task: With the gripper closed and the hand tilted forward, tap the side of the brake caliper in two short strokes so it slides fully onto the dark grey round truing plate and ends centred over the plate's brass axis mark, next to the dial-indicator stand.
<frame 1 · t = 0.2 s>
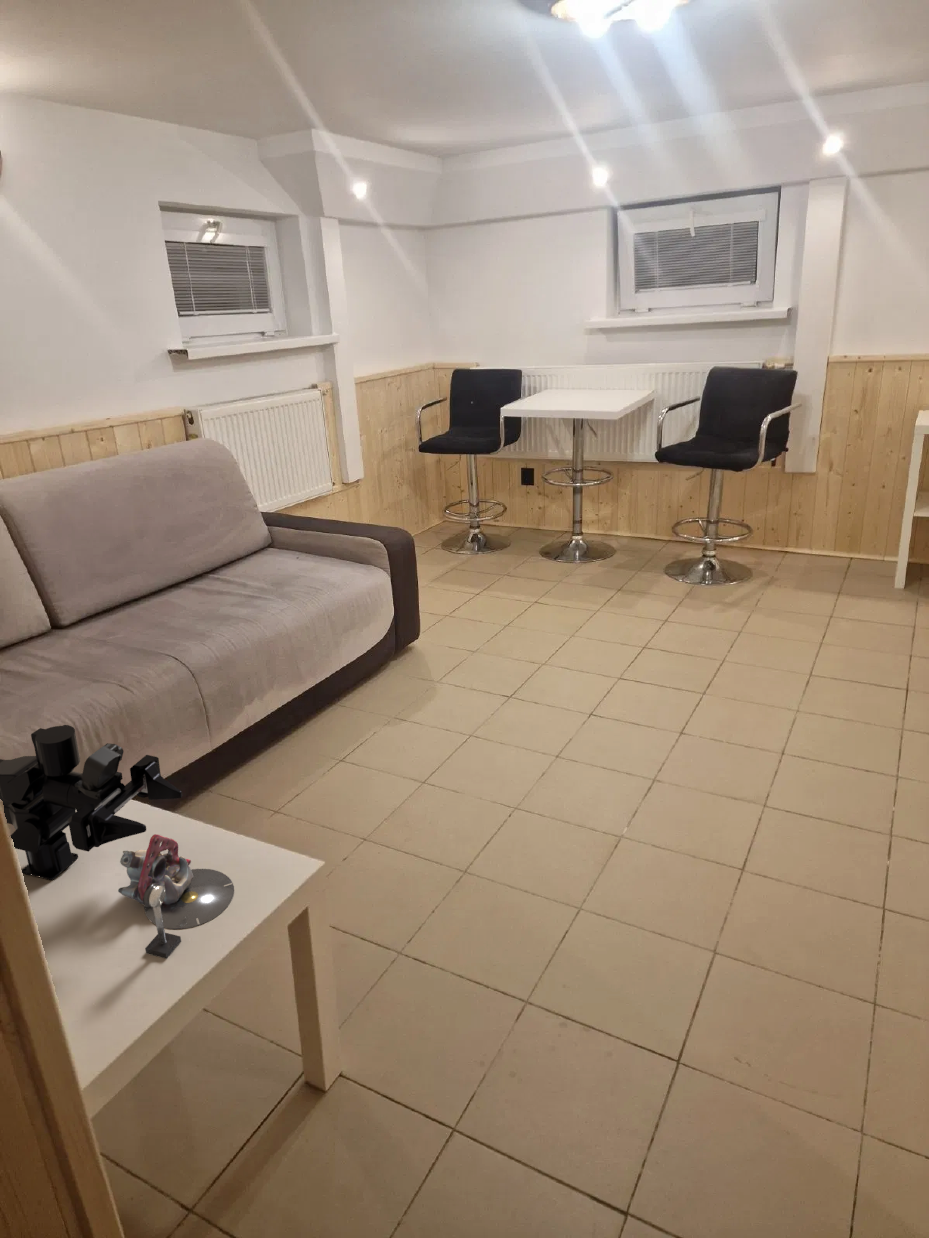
hand: (164, 811, 128), 16 cm above the table, tool horizontal, fingers open, 9 cm apart
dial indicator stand: (163, 947, 124), on the table
brake caliper: (160, 891, 136), on the table, touching truing plate
truing plate: (189, 897, 134), on the table
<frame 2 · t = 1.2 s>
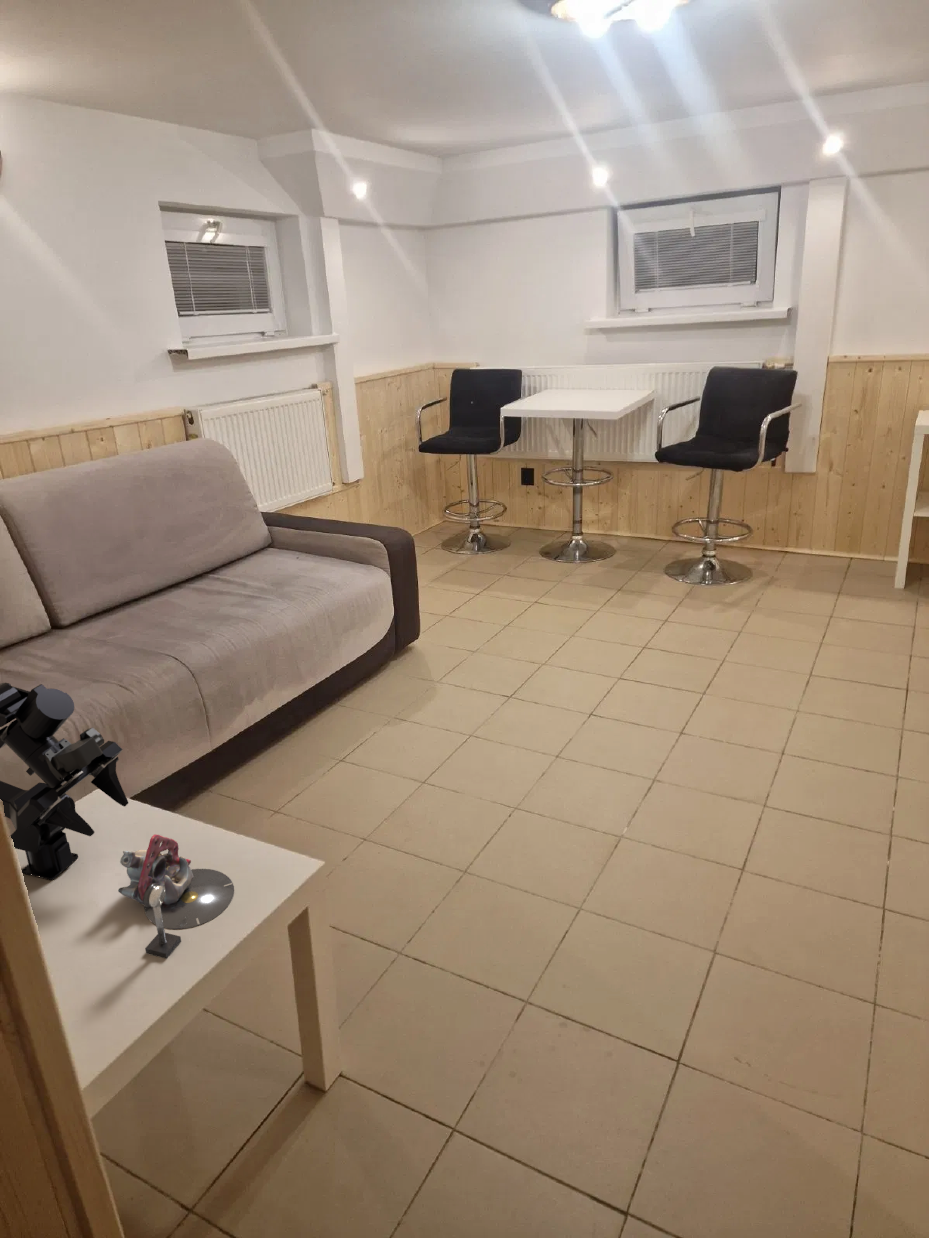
hand: (110, 819, 133), 13 cm above the table, tool tilted 45°, fingers open, 8 cm apart
nothing on the table moved.
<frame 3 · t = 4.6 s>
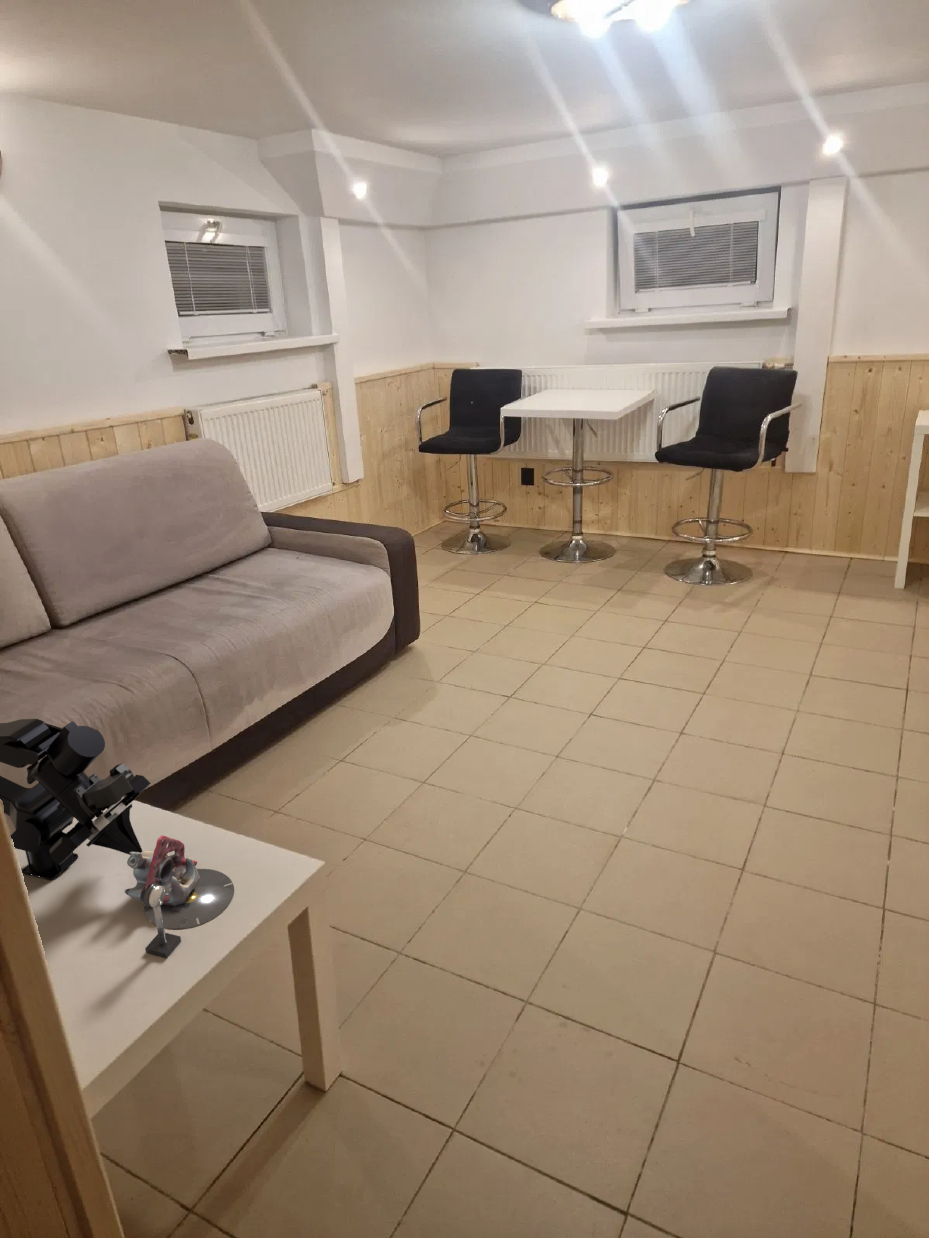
hand: (139, 854, 134), 7 cm above the table, tool tilted 45°, fingers closed
brake caliper: (167, 892, 135), resting on truing plate, touching gripper
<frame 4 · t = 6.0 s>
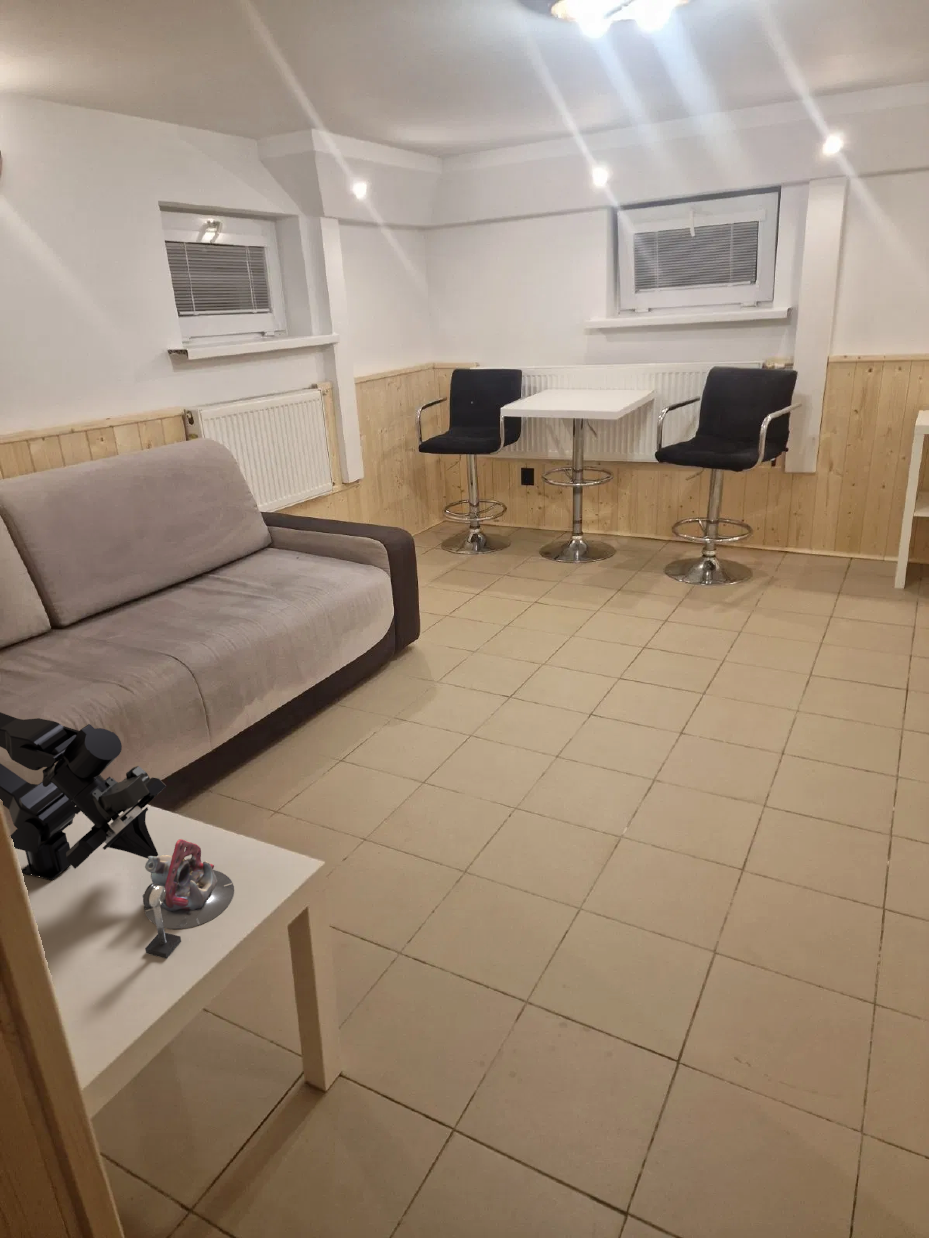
hand: (155, 857, 133), 7 cm above the table, tool tilted 45°, fingers closed
brake caliper: (184, 896, 134), resting on truing plate
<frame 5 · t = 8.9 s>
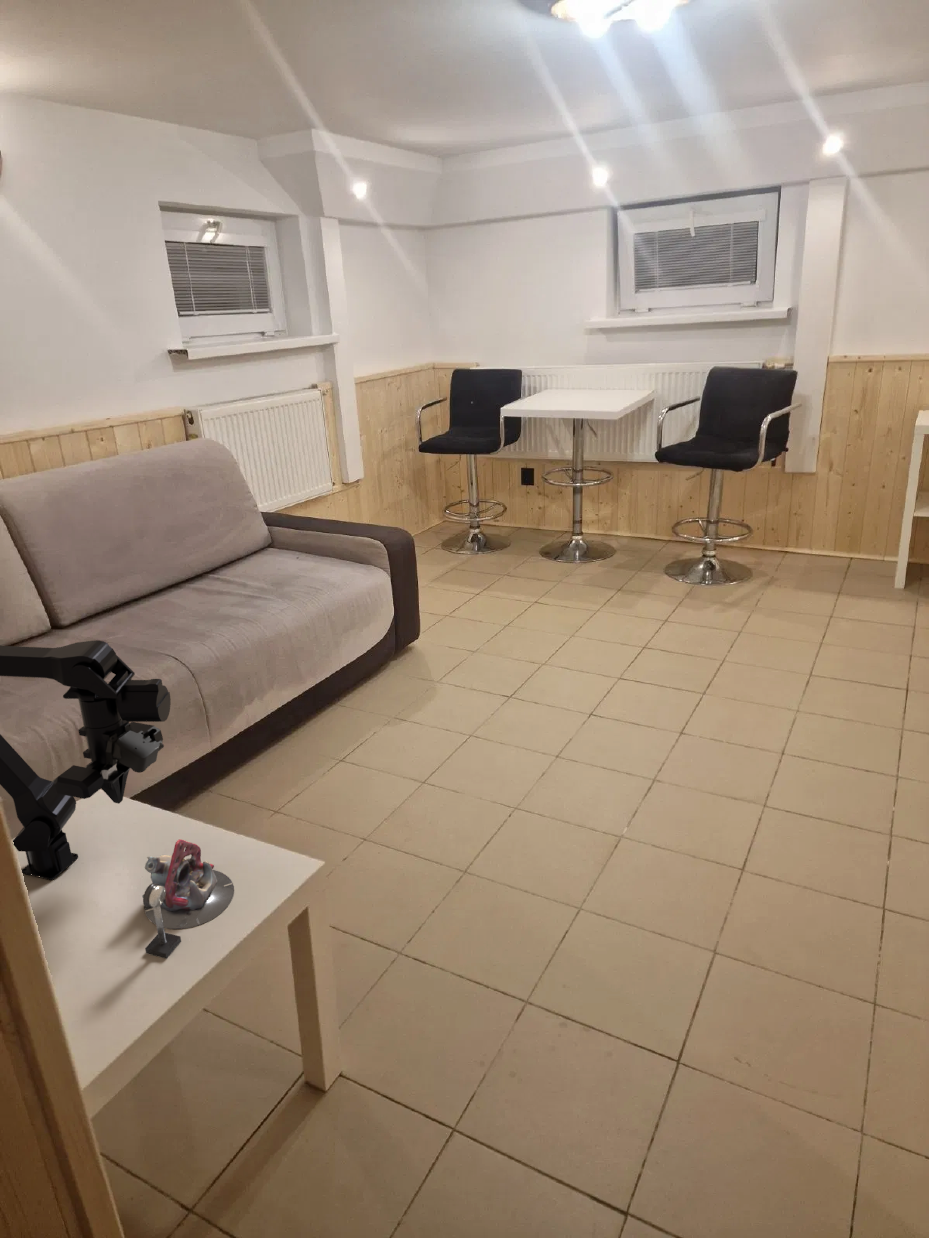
hand: (118, 801, 136), 13 cm above the table, tool pointing down, fingers closed
nothing on the table moved.
at the end: brake caliper 1.0 cm off-centre on the truing plate, point 0.0 cm above the truing plate's base; brake caliper tilted 1° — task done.
